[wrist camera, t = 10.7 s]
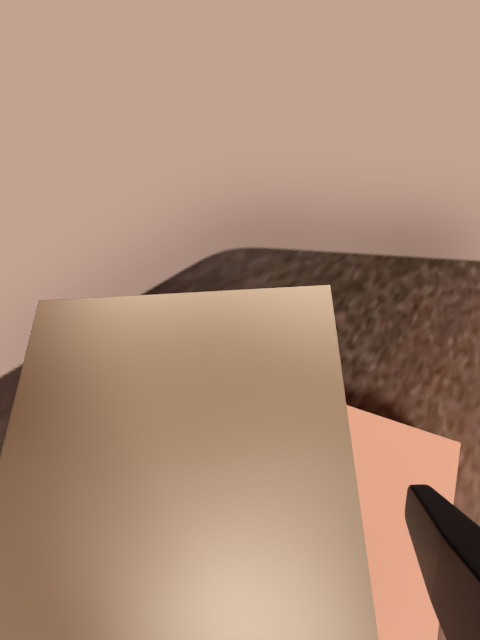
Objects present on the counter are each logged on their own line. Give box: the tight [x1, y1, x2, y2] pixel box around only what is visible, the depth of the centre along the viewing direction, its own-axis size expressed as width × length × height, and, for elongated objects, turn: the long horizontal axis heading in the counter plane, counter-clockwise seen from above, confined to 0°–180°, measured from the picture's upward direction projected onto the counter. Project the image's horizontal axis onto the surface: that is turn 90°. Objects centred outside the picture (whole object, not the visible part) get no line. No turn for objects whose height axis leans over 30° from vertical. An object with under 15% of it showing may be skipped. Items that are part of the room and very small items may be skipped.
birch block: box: [0, 285, 378, 640], centre depth 11 cm, size 5×5×12 cm
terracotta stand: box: [346, 405, 461, 640], centre depth 17 cm, size 13×16×3 cm
